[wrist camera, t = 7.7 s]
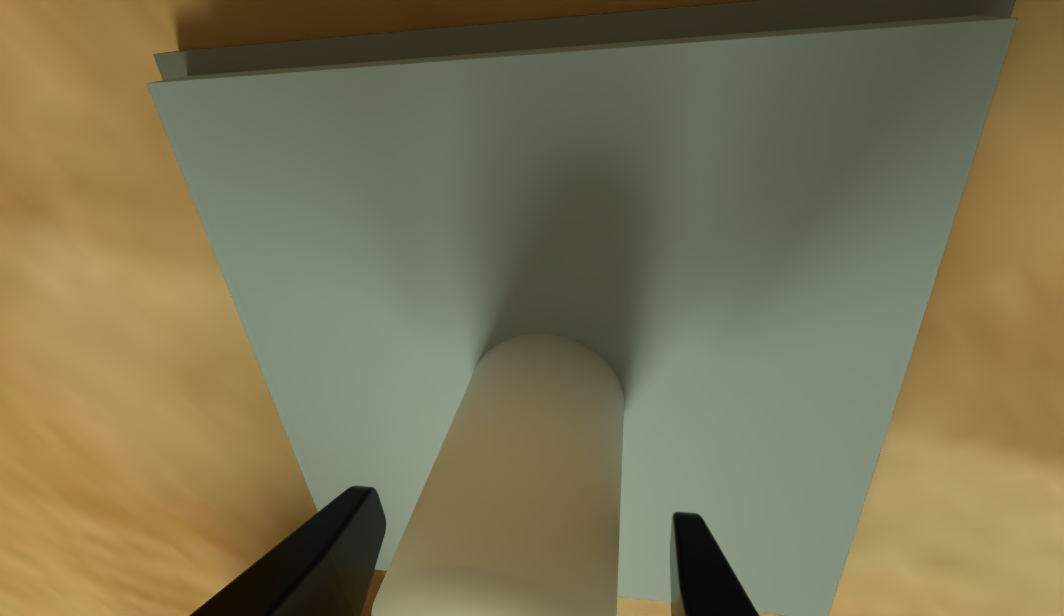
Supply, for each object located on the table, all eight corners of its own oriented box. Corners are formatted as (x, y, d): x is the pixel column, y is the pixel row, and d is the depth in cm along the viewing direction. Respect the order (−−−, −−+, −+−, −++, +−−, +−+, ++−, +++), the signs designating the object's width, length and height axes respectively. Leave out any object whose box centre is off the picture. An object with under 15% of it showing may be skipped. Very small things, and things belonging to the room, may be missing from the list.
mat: (997, -21, 8) (1022, -22, 7) (824, 577, 15) (830, 597, 14) (176, 50, 11) (153, 53, 10) (351, 530, 17) (343, 547, 17)
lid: (975, 15, 8) (1630, 61, 3) (816, 581, 14) (916, 917, 9) (187, 75, 10) (-273, 160, 5) (354, 536, 17) (227, 779, 11)
